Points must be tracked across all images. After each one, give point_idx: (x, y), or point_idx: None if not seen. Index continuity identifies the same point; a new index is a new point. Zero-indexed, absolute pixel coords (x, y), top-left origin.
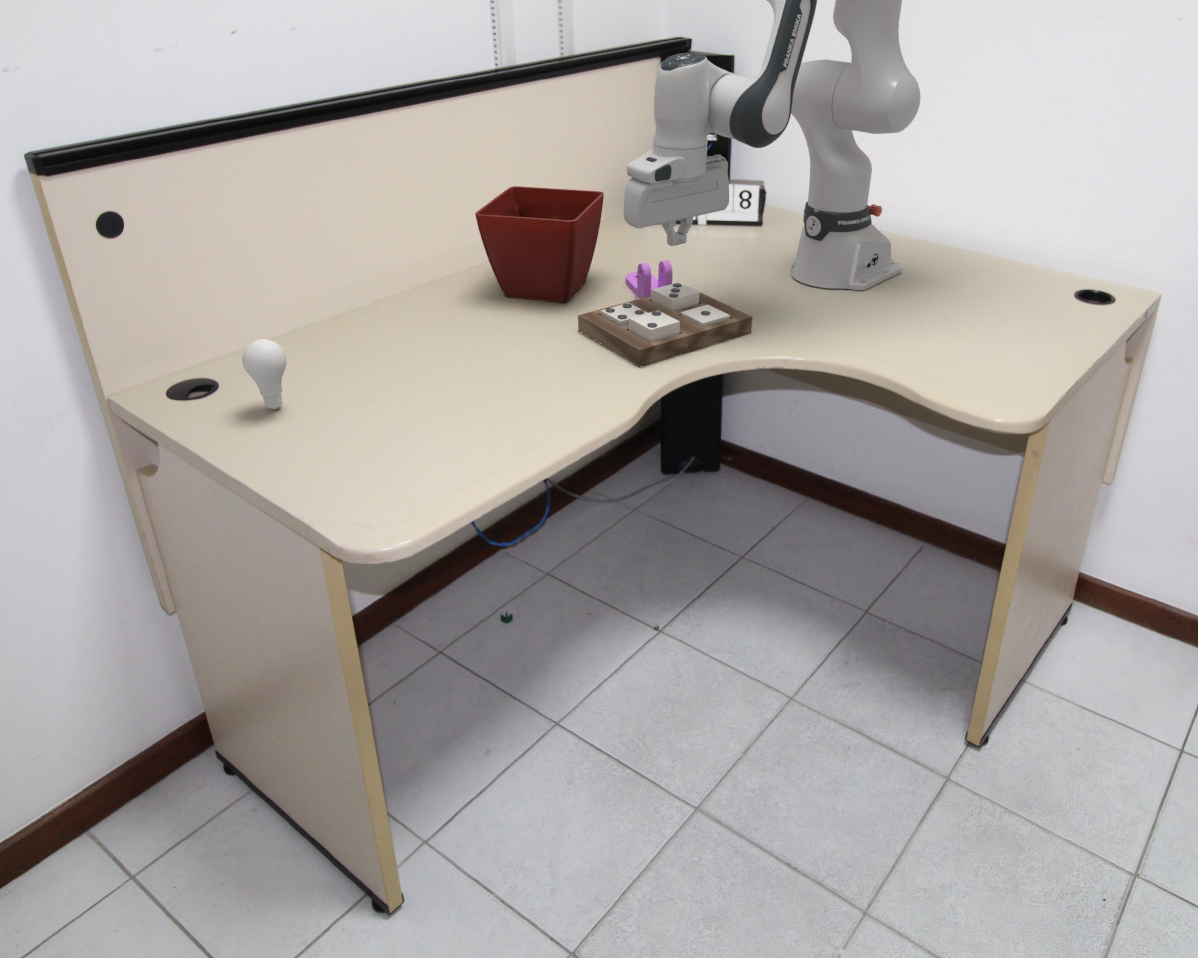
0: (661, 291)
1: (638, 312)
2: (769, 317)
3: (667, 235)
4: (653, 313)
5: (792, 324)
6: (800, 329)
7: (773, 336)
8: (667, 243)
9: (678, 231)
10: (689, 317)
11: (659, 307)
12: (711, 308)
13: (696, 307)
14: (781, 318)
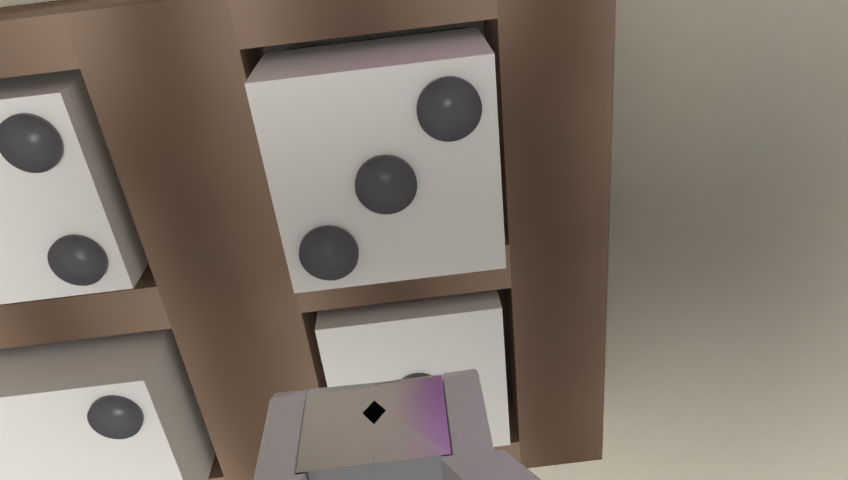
0: (293, 149)
1: (67, 268)
2: (767, 316)
3: (258, 470)
4: (95, 418)
5: (777, 403)
6: (759, 446)
7: (628, 454)
8: (275, 396)
9: (444, 477)
10: (328, 383)
11: (254, 189)
12: (485, 355)
13: (446, 278)
14: (796, 344)
